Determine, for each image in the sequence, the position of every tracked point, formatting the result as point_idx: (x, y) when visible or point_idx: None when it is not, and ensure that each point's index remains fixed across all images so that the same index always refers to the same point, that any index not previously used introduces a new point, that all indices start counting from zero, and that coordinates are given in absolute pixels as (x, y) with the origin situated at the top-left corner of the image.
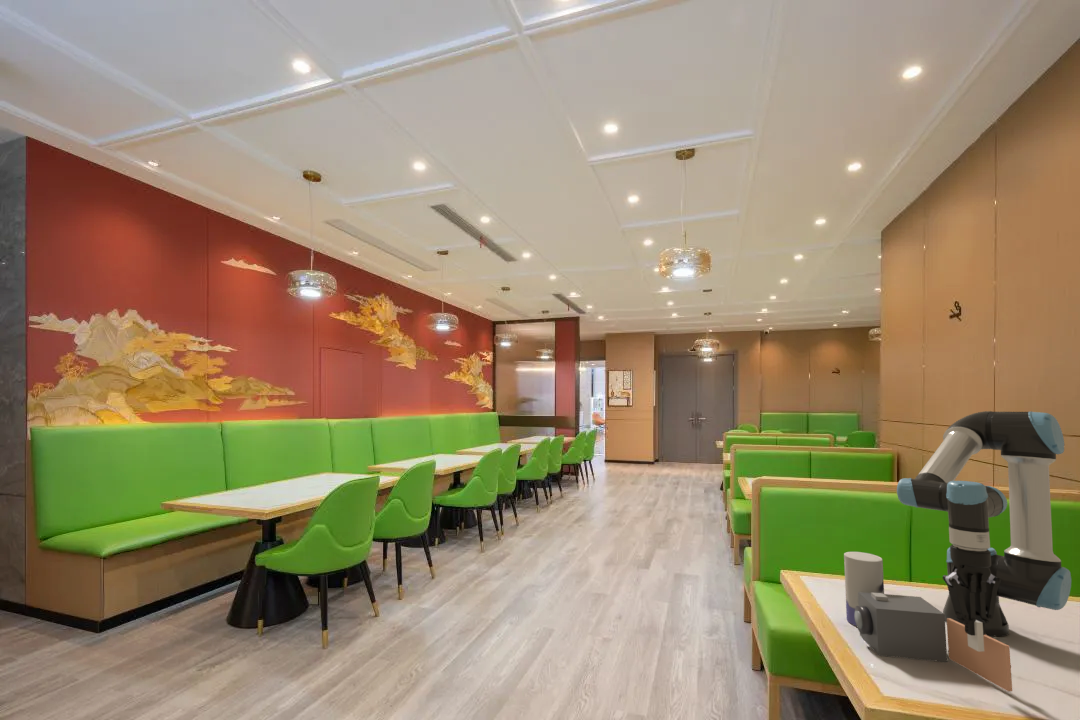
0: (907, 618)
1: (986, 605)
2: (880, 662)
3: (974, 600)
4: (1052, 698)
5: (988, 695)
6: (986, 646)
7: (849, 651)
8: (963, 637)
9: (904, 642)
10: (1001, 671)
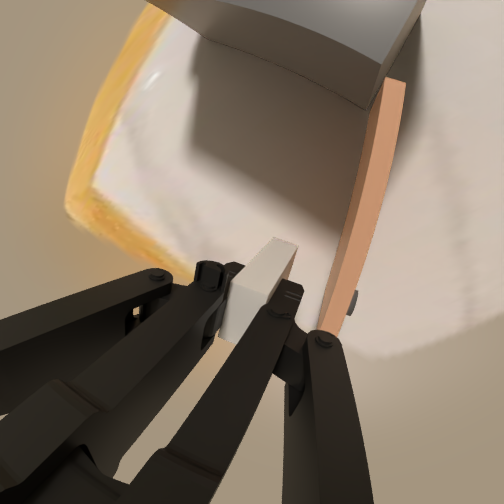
0: (229, 13)
1: (291, 418)
2: (180, 69)
3: (151, 417)
4: (410, 324)
5: None
6: (336, 272)
7: (162, 21)
8: (364, 167)
9: (249, 43)
10: (326, 292)
